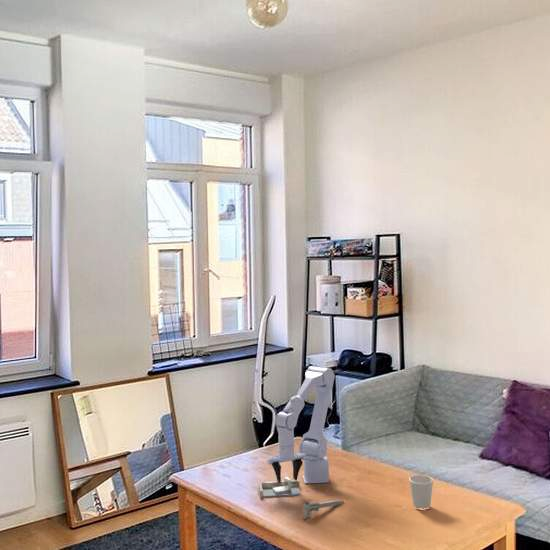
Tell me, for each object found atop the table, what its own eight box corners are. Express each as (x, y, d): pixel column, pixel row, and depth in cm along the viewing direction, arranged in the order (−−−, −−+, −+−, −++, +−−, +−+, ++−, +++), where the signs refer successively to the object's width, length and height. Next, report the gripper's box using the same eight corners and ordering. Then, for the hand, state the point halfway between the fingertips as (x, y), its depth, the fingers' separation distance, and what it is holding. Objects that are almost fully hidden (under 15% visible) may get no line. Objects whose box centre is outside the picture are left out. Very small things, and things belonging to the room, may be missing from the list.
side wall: (261, 489, 250) (261, 483, 250) (263, 497, 242) (262, 490, 242) (258, 489, 250) (258, 483, 250) (260, 497, 242) (260, 491, 242)
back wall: (299, 486, 252) (299, 480, 252) (299, 487, 251) (299, 480, 251) (259, 488, 251) (259, 482, 251) (260, 489, 250) (260, 483, 250)
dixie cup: (437, 505, 232) (436, 477, 231) (429, 513, 224) (429, 484, 224) (413, 500, 236) (413, 473, 235) (406, 509, 229) (405, 480, 228)
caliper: (305, 521, 222) (305, 502, 221) (303, 520, 222) (302, 501, 222) (344, 503, 236) (343, 485, 236) (341, 502, 237) (341, 485, 236)
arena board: (298, 487, 251) (298, 486, 251) (301, 495, 243) (301, 493, 243) (261, 489, 250) (261, 488, 250) (263, 497, 242) (263, 496, 242)
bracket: (287, 488, 249) (287, 476, 249) (291, 491, 246) (291, 480, 245) (272, 490, 247) (272, 478, 247) (276, 494, 244) (275, 482, 243)
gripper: (300, 439, 252) (301, 474, 253) (264, 443, 248) (265, 479, 248) (307, 444, 246) (308, 480, 246) (270, 449, 241) (271, 485, 242)
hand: (287, 480), depth 247 cm, fingers open, 6 cm apart
